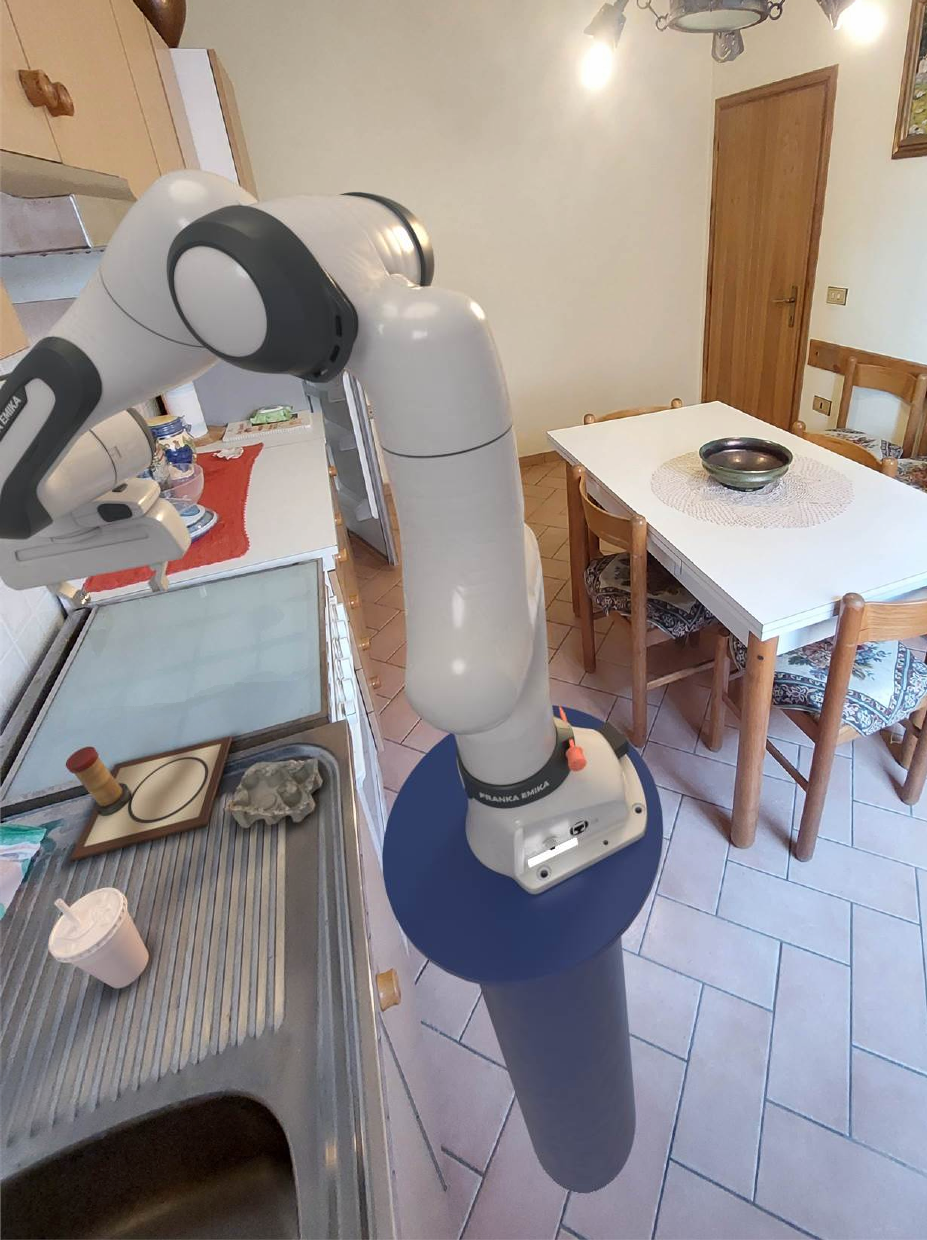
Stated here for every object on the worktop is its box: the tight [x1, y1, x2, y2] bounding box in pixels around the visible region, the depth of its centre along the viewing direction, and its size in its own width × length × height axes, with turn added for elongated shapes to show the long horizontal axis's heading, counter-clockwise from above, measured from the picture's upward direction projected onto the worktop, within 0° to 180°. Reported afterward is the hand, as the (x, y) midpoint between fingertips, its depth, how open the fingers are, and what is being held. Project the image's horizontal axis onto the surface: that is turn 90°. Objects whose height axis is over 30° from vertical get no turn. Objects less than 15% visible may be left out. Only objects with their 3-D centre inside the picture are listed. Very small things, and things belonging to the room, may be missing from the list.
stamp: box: [65, 746, 131, 816], centre depth 79 cm, size 4×4×9 cm
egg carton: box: [222, 757, 323, 829], centre depth 79 cm, size 11×8×4 cm
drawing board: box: [69, 735, 234, 862], centre depth 82 cm, size 16×14×1 cm
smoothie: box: [47, 887, 149, 989], centre depth 61 cm, size 6×6×14 cm
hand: (122, 596), depth 78 cm, fingers open, 8 cm apart
